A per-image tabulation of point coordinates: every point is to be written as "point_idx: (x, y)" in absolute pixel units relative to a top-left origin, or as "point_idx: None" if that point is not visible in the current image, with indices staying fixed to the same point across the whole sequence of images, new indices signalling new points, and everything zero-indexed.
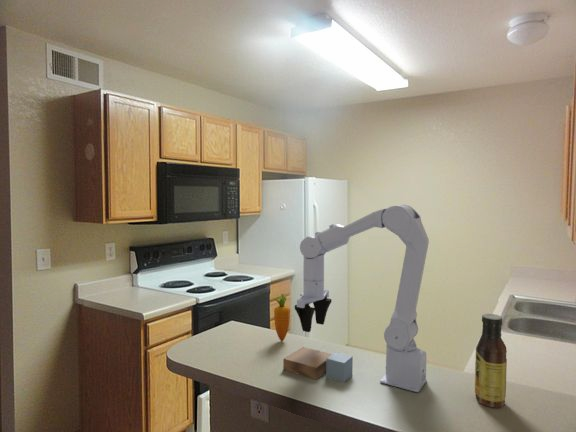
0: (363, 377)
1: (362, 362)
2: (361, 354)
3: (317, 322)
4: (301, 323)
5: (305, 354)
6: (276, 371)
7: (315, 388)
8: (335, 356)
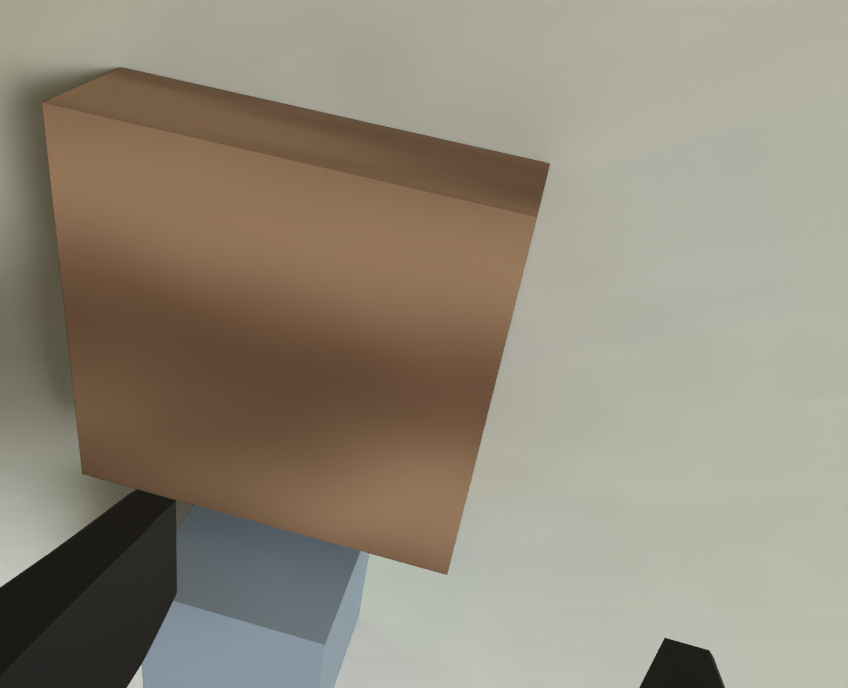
0: (356, 671)
1: (629, 674)
2: (827, 672)
3: (656, 674)
4: (21, 583)
5: (302, 316)
6: (43, 5)
7: (17, 426)
8: (225, 649)
